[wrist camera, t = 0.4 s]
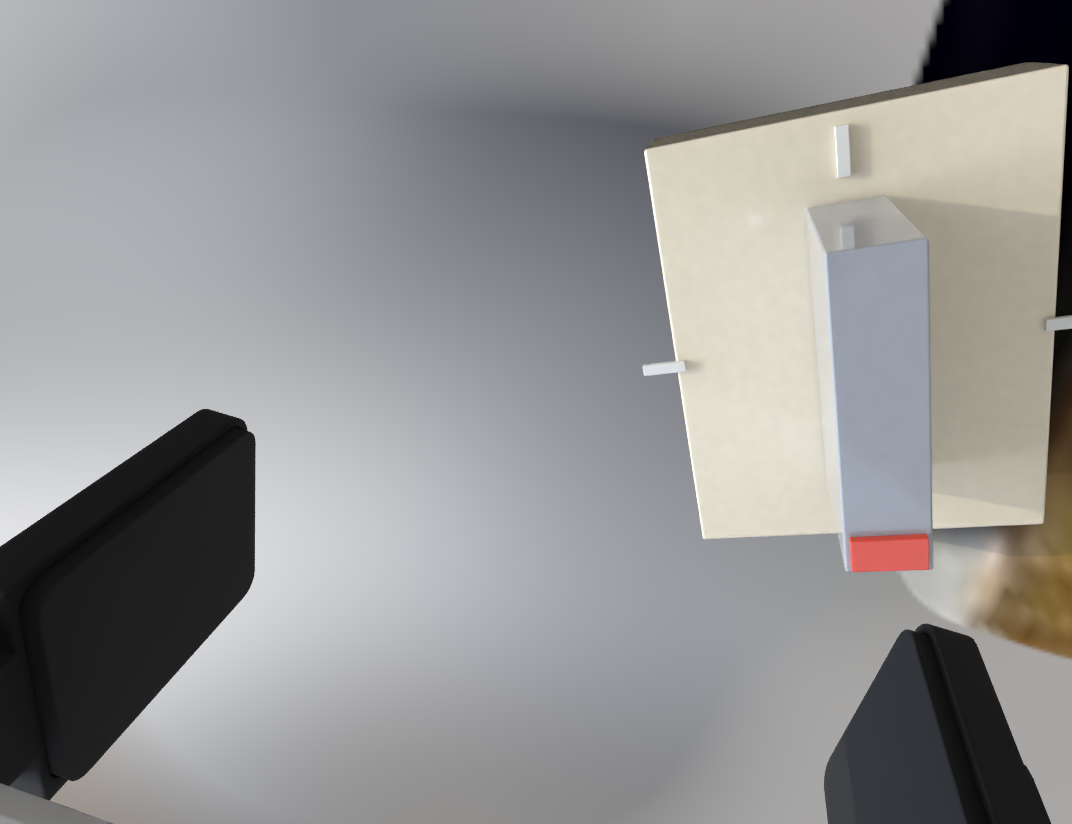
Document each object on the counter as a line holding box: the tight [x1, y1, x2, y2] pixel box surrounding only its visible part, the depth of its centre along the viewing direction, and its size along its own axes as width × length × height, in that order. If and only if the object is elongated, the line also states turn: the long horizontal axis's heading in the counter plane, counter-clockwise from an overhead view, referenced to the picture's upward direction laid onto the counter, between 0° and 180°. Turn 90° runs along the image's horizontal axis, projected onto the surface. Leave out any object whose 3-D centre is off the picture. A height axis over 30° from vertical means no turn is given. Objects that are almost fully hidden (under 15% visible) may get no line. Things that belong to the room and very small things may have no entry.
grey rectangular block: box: [806, 195, 933, 572], centre depth 21 cm, size 9×2×6 cm, turn 12°
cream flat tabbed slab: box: [643, 62, 1072, 539], centre depth 25 cm, size 14×13×3 cm
